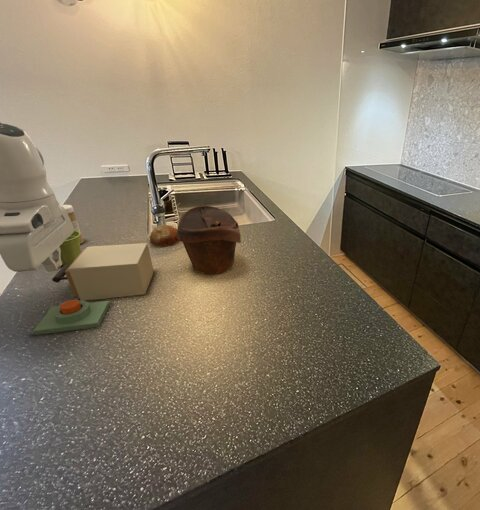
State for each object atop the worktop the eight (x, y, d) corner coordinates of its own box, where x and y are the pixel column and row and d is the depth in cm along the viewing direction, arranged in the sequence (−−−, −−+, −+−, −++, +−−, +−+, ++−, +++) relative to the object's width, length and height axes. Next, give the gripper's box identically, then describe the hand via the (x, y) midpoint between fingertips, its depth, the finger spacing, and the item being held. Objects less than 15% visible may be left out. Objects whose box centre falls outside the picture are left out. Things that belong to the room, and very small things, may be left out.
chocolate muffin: (222, 285, 91) (215, 230, 83) (168, 270, 96) (157, 217, 88) (255, 260, 106) (252, 211, 98) (208, 248, 112) (201, 201, 103)
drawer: (54, 299, 78) (43, 273, 75) (72, 276, 88) (63, 252, 84) (134, 291, 84) (128, 266, 80) (144, 270, 94) (138, 247, 90)
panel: (34, 335, 68) (29, 324, 67) (53, 310, 76) (49, 300, 75) (98, 326, 72) (94, 316, 71) (110, 304, 80) (107, 294, 78)
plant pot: (50, 271, 91) (39, 245, 87) (50, 258, 97) (40, 233, 93) (89, 263, 96) (81, 238, 93) (87, 251, 103) (79, 227, 99)
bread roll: (160, 244, 119) (146, 228, 114) (185, 232, 120) (172, 215, 116) (157, 256, 111) (141, 238, 106) (183, 243, 112) (169, 225, 107)
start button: (59, 315, 71) (56, 309, 70) (65, 306, 74) (63, 300, 73) (78, 313, 72) (75, 307, 71) (83, 304, 75) (81, 298, 74)
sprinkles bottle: (65, 243, 107) (51, 206, 100) (80, 239, 110) (67, 203, 104) (72, 246, 105) (58, 209, 99) (87, 242, 108) (75, 206, 102)
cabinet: (80, 301, 80) (68, 268, 75) (97, 276, 91) (87, 246, 86) (145, 294, 85) (137, 263, 80) (153, 271, 95) (147, 242, 91)
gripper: (36, 195, 70) (58, 249, 76) (-23, 229, 53) (11, 295, 59) (70, 194, 72) (89, 247, 78) (23, 227, 55) (52, 291, 61)
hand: (55, 268), depth 68 cm, fingers closed
